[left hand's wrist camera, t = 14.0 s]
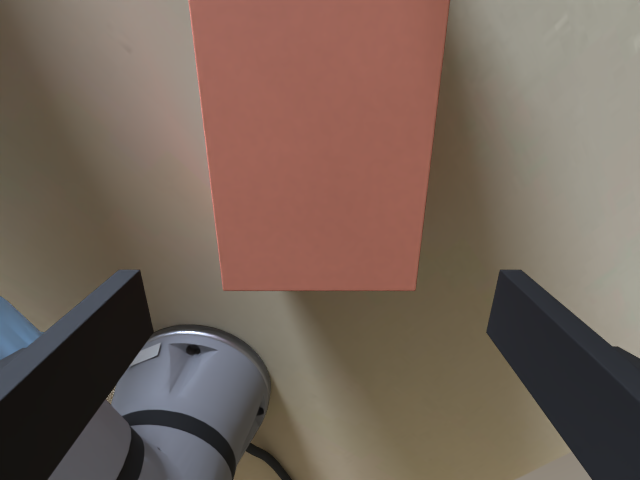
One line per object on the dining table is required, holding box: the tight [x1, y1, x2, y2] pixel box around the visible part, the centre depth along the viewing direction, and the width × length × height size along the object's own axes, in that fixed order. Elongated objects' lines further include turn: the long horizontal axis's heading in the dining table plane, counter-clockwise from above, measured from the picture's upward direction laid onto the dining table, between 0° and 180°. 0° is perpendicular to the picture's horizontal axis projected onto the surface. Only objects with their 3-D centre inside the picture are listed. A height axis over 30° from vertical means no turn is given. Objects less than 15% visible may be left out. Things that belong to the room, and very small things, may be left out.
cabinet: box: [189, 0, 450, 291], centre depth 22 cm, size 17×12×11 cm, turn 0°
